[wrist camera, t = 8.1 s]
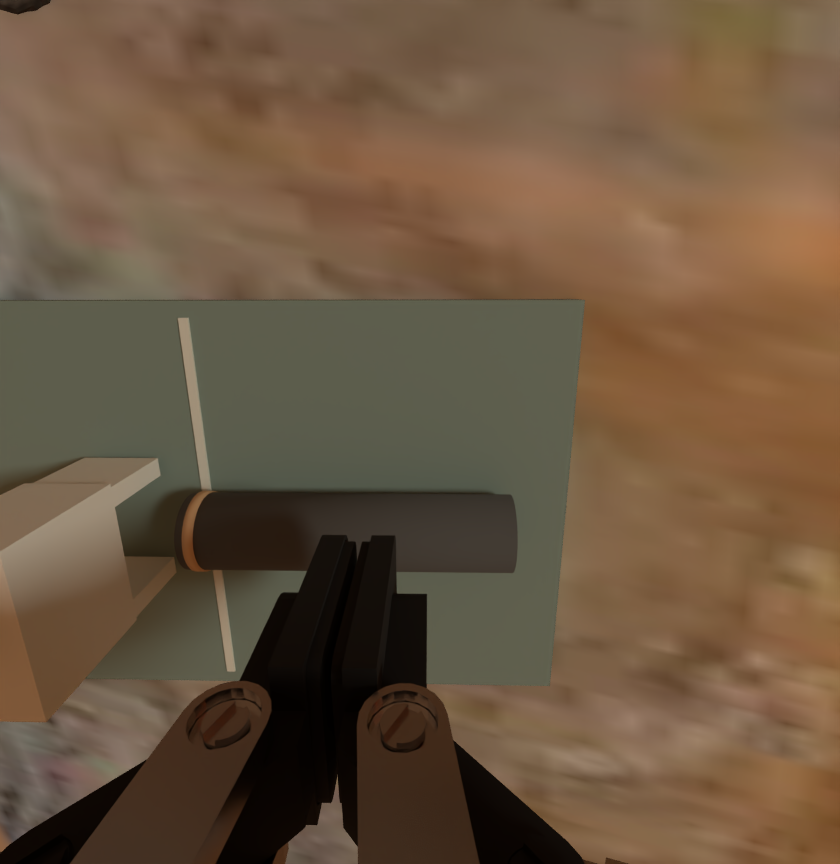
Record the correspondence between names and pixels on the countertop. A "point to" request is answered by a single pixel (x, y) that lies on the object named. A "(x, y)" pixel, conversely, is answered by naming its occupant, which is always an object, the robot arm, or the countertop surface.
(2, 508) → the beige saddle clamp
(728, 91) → the countertop surface
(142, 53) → the countertop surface
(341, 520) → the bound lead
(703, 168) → the countertop surface
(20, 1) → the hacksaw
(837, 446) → the countertop surface
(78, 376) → the cutting mat
